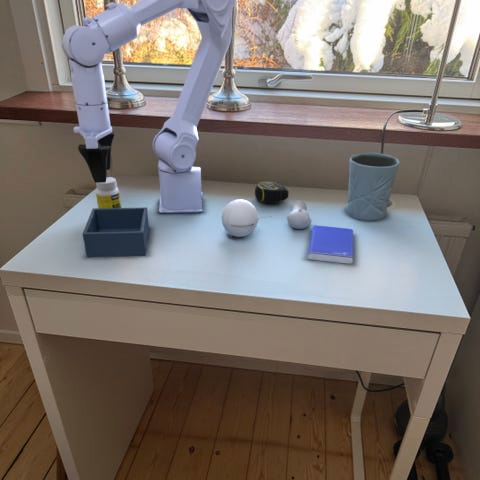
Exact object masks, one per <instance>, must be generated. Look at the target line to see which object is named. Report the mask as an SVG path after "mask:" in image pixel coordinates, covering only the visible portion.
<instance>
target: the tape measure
mask: <svg viewBox="0 0 480 480" xmlns="http://www.w3.org/2000/svg"><path fill="white" fill-rule="evenodd" d="M254 188H255V189H254V196H255V198H256V200H257V201H259V202H261V203H265V204H276V203H279V202H282V201H285V200H287V199H288V198H289V190H288V189H287V188H286V187H285V186H283V185H281V184H279V183H277V182H276V181H273V180H270V181H261V182H259V183H257V184H256V186H255V187H254Z"/></svg>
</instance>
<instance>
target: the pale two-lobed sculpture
mask: <svg viewBox="0 0 480 480" xmlns="http://www.w3.org/2000/svg"><path fill="white" fill-rule="evenodd" d="M307 208H308V207H307V204H306V202H305V201H304V200H302V199H301V200H300V199H299V200H296V201H295V202H293V203H292V205H291V207H290V209H289V213H288V214H287V217H286V220H287V223H288V225H289V226H290V227H292V228H293V229H296V230H303V229H306V228H307V227H308V226H309V225H310V224H311V223H312V218H311V217H310V214H309V212H308V211H307Z"/></svg>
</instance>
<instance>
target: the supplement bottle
mask: <svg viewBox="0 0 480 480" xmlns="http://www.w3.org/2000/svg"><path fill="white" fill-rule="evenodd" d="M95 185H96V190H95V196H96V203H97V208H122V201H121V195H120V189H119V188H118V183H117V179H116V178H115V177H111V176H107V177H106V182H105V183H95Z"/></svg>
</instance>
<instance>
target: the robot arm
mask: <svg viewBox="0 0 480 480" xmlns="http://www.w3.org/2000/svg"><path fill="white" fill-rule="evenodd" d="M235 4H236V0H139V1H138V2H136V3H134V4H133V5H131V6H128V5H126V4H124V3H122V2H119V3H115V2H112V1H111V2H109V3H107V4H106V5H105V7H106V9H105V10H103V11H102V12H100V13H98V14H96V15H95V16H92V17H89V16H85V17H84V18H82V23H83V25H71V26H70V27H68V28H67V29H65V33H64V34H63V36H62V43H61V45H60V46H61V48H62V51H63V53H64V55H65V56H66V57H67V58H68V64H69V70H70V80H71V85H72V93H73V97H74V102H75V103H74V104H75V108H76V114H77V120H78V125H79V126H74V127H73V129H72V130H73V133H74V134H80V135H81V136H82V137H83V139H84V144H83V143H82V144H78V146H77V150H78V152H79V154H80V155H81V156H82V157H83V159H84V161H85V162H86V164H87V166H88V169H89V171H90V174H91V177H92V179H93V182H94V183H95V184H96V183H105V182H106V177H108V176H107V175H108V172H107V171H110V170H111V167H112V166H111V164H112V147H113V141H114V138H115V135H116V134H115V133H116V132H115V131H114V130H113V126H112V125H111V118H110V111H109V103H108V96H107V89H106V81H105V74H104V71H103V64H102V62H103V60H104V58H105V56H106V55H109V54H111V53H112V52H114V51H116V50H118V49H120V48H122V47H123V46H125V45H127V44H129V43H130V42H132V41H134V40H136V39H137V38H138V36H139V33H140V29H141V27H143V26H144V25H146V24H148V23H151V22H152V21H154V20H156V19H158V18H161V17H162V16H165V15H166V14H168V13H170V12H173V11H174V10H176V9H186V10H187V11H188V13H189V14H190V15H191V17H192V18H193V20H194V21H195V22H196V25H197V27H198V30H199V33H200V36H201V39H200V41H199V44H198V47H197V49H196V52H195V55H194V58H193V60H192V63H191V66H190V68H189V71H188V74H187V77H186V79H185V82H184V84H183V87H182V89H181V91H180V95H179V98H178V100H177V102H176V105H175V108H174V111H173V113H172V116H171V117H169V118H168V119H167V120H166V121H164V123H163V125H162V127H161V130H160V131H159V132H158V133H156V134H155V136H154V137H153V141H152V152H153V153H154V155H155V156H156V158H158V164H157V171H158V180H159V181H158V182H159V192H160V193H159V194H160V198H159V207H158V213H159V214H185V213H202V212H203V201H204V193H203V191H202V167H201V166H193V165H194V164H195V162H196V159H197V146H198V143H199V140H200V139H199V135H198V129H197V127H198V125H199V122H200V121H201V117H202V115H203V112H204V109H205V108H206V106H207V102H208V99H209V97H210V95H211V92H212V89H213V87H214V85H215V83H216V80H217V78H218V75H219V72H220V70H221V67H222V65H223V62H224V59H225V57H226V54H227V52H228V49H229V47H230V45H231V42H232V35H233V9H234V8H235V7H234V6H235Z"/></svg>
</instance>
